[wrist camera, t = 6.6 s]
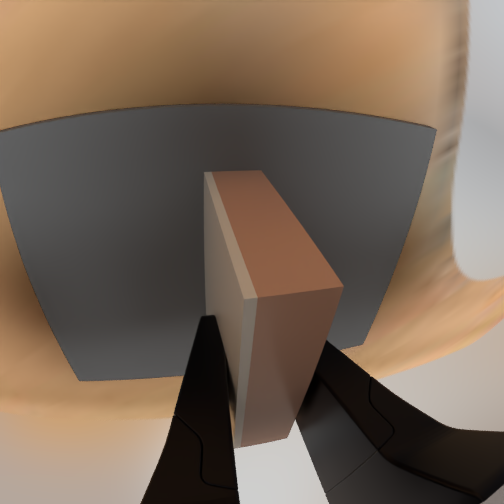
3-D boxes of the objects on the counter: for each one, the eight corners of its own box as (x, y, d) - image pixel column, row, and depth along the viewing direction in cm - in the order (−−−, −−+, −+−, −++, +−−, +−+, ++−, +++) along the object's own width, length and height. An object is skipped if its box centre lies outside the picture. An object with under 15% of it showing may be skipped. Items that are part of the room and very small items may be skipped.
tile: (206, 326, 12) (233, 448, 8) (203, 171, 8) (244, 298, 5) (248, 321, 12) (287, 438, 8) (260, 170, 9) (344, 285, 5)
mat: (79, 373, 13) (79, 380, 12) (-4, 131, 6) (-10, 135, 6) (359, 338, 16) (362, 344, 16) (429, 126, 10) (436, 129, 9)
